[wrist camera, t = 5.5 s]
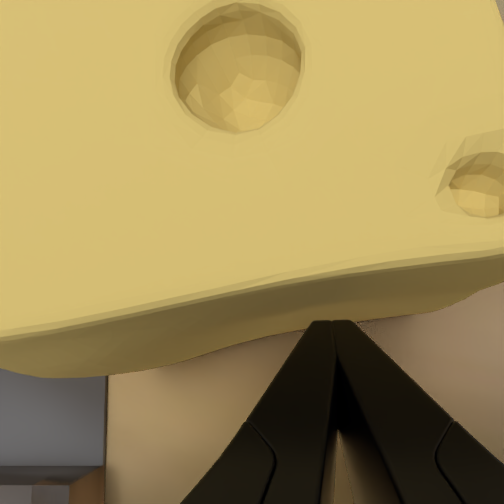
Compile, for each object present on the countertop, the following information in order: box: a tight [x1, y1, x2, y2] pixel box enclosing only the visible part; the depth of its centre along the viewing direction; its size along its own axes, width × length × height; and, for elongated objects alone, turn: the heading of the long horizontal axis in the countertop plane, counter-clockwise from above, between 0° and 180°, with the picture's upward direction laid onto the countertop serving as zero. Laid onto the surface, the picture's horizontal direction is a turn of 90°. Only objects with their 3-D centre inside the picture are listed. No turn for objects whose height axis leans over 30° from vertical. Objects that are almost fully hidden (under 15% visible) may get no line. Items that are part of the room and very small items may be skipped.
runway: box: [0, 368, 108, 504], centre depth 14 cm, size 22×29×4 cm
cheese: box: [0, 0, 504, 378], centre depth 12 cm, size 10×11×10 cm
